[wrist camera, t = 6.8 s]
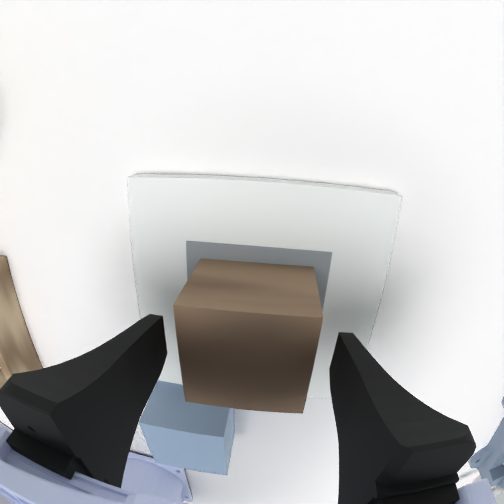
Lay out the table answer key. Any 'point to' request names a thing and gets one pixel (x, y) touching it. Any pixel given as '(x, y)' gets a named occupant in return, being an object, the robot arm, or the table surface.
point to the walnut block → (248, 334)
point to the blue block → (187, 431)
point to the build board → (263, 246)
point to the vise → (492, 460)
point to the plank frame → (13, 331)
